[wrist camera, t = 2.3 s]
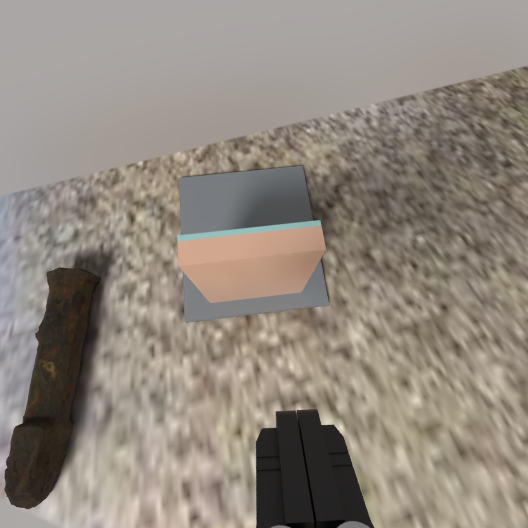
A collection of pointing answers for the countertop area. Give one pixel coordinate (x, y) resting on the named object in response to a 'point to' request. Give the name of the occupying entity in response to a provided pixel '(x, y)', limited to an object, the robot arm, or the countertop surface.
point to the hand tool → (50, 389)
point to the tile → (252, 260)
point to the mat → (246, 216)
